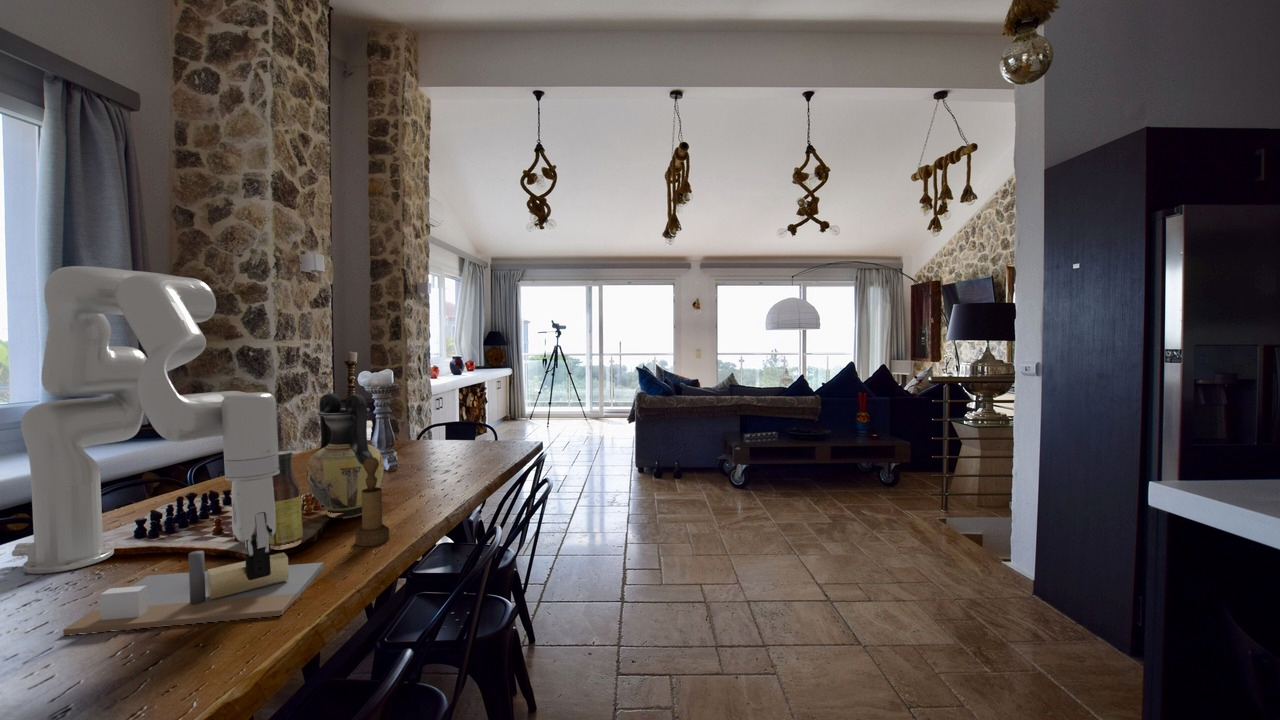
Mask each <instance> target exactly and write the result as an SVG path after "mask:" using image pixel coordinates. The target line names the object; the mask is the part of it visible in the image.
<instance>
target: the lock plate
mask: <svg viewBox="0 0 1280 720" xmlns="http://www.w3.org/2000/svg"><path fill="white" fill-rule="evenodd" d="M187 556H188V572H180V573H167V574H166V573H164V574H152V575H151V574H150V575H145V577H143V578H142V579H140V580H138V581H137V582H135V583H134V584H132V585H131V586H126V587H113V588H108V589H106V590H105V591H103V592H101V593H100V597H99V598H100V605H99V606H98V607H96V608H95V609H93V610H91V611H90V612H88V613H87V614H85V615H84V616H82V617H81V618H79V619H77V620H76V621H74V622H73V623H70V625H68V626H67V627H65V628H63V629H62V632H63V634H62V635H70V634H79V633H92V632H104V633H106V632H105V631H111V630H126V631H132V630H131V629H137V630H140V629H139V628H147V627H148V629H150V628H149V627H155V626H162V625H178V624H179V625H180V624H192V625H197V624H196V623H203V624H208V623H207V622H214V623H219V622H218V621H225V622H231V621H230V620H236V621H240V620H239V619H246V618H257V617H269V616H274V615H282V614H283V613H284V612H285V610H286V609H287V608H288V607H289V606H290V605H291V604H292V603H293V602H294V601H295V600H296V601H297V600H298V598H299V597H300V596H301V595H302V594H303V592H305V590H306V589H307V588H308V587H309V585H310V584H311V583H312V582H313V581H314V579H316V577H317V576H318V575H319V574H320V573H321V571H322V570H323V569H324V566H325V565H324V562H312V563H311V562H310V563H296V564H288V576H289V580H285V581H281V582H277V583H273V584H269V585H265V586H261V587H257V588H253V589H250V590H246V591H242V592H238V593H234V594H230V595H226V596H222V597H218V598H214V599H210V597H209V594H208V578H207V571H206V569H205V551H204V550H195V551H191V552H189V553H188V555H187ZM307 586H308V587H307ZM306 587H307V588H306ZM301 593H302V594H301ZM296 601H295V602H296ZM295 602H294V603H295ZM294 603H293V604H294ZM293 604H292V605H293ZM292 605H291V606H292ZM285 613H286V612H285ZM269 618H270V617H269Z"/></svg>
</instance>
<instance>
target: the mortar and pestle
mask: <svg viewBox="0 0 1280 720" xmlns="http://www.w3.org/2000/svg"><path fill="white" fill-rule="evenodd" d="M378 466H379V462H378V460H377V459H376V458H374V457H370V458H367V459H366V460H365V461H364V463H363V467H364V469H365V470H366V472H367V474H368V476H367V479H365V481H366V485H367V489H364V490H362V515H361V527H359V528H358V529H357V530H356V531H355V534H354V535H355V539H354V540H355V541H354V542H355V545H357V546H359V547H373V546H378V545H382V544H385V543H386V542H388V541H389V540H390V528H389V527H388V526H386V525H385V524H384V523H383V508H382V507H383V506H382V505H383V504H382V503H383V502H382V500H383V499H382V498H383V497H382V494H383V493H382V488H381V487H379V488H378V487H376V483H377V478H376V477H375V472H376V470H377V468H378Z"/></svg>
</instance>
